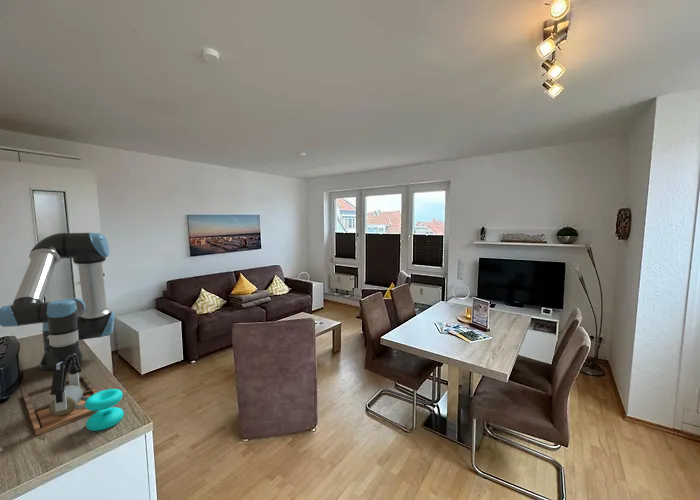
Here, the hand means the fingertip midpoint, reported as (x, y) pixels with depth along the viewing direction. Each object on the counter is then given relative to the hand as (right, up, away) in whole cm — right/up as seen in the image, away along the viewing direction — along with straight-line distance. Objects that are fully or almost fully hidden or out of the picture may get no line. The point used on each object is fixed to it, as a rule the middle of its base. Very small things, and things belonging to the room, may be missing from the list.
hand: (68, 399), depth 107 cm
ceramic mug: (0, -4, +1) cm, 4 cm away
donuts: (+18, -5, -6) cm, 20 cm away
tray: (-7, -4, +5) cm, 9 cm away
